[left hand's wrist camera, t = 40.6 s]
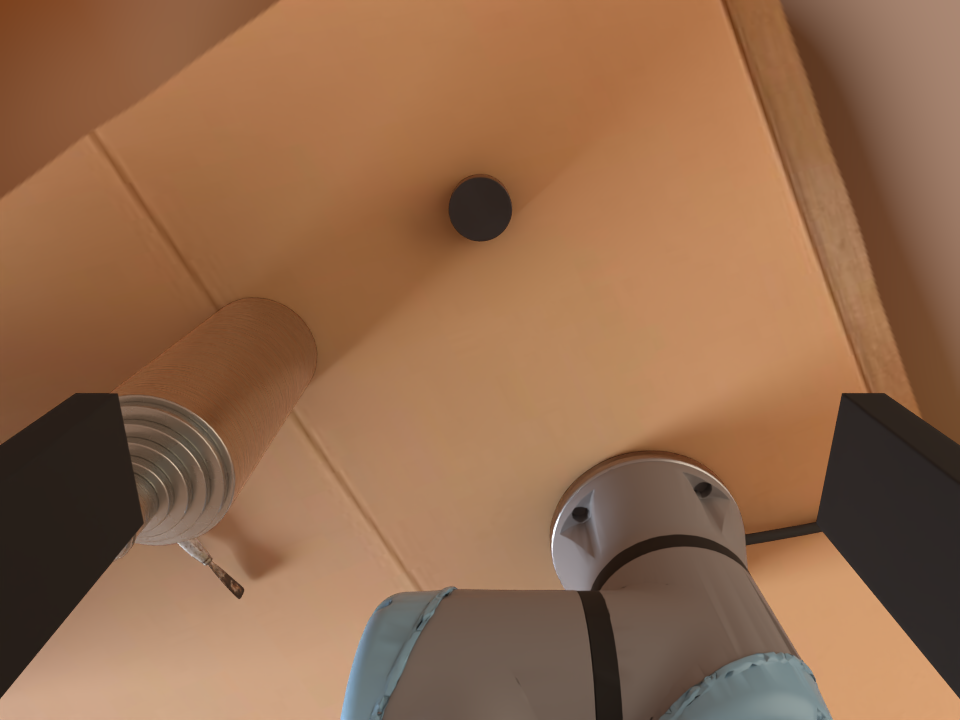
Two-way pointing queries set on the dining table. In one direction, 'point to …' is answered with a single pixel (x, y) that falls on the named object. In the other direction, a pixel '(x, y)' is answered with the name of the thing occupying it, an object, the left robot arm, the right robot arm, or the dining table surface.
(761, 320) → the dining table surface
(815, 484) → the dining table surface
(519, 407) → the dining table surface
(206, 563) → the putty knife
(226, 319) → the bottle
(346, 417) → the dining table surface
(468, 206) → the cap
